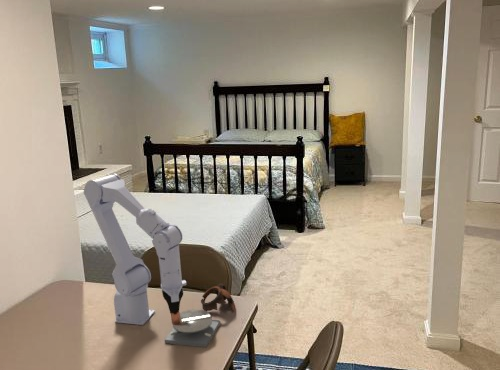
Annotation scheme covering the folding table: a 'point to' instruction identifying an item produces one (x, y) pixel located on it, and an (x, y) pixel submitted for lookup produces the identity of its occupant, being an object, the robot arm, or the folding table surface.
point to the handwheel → (191, 321)
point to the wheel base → (193, 336)
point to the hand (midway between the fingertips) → (174, 313)
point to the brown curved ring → (217, 298)
